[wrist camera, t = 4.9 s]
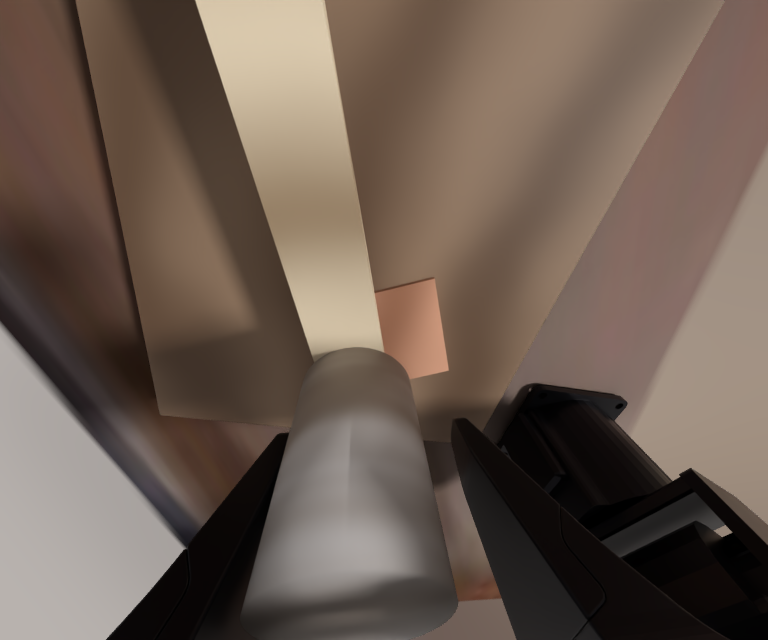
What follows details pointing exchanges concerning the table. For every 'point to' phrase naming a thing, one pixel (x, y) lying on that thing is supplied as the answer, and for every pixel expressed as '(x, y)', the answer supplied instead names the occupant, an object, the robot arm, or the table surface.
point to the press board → (382, 185)
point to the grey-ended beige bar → (329, 359)
